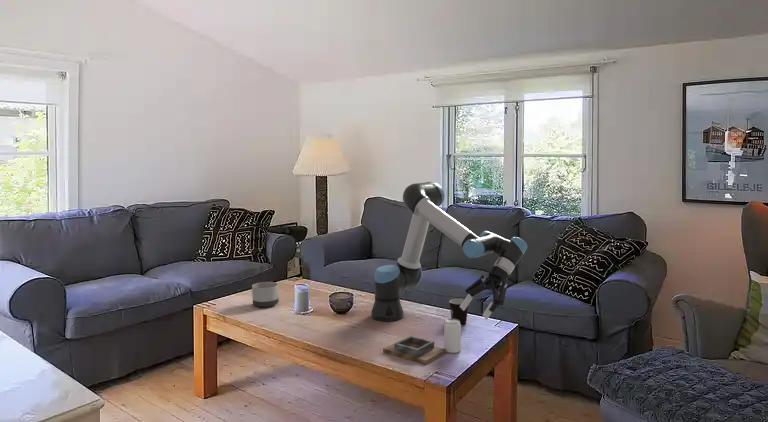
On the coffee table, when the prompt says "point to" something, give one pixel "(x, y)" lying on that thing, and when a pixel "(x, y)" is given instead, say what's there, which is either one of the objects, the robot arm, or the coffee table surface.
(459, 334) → the can
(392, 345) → the wooden board with frame
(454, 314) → the coffee mug
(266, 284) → the planter
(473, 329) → the coffee table surface
